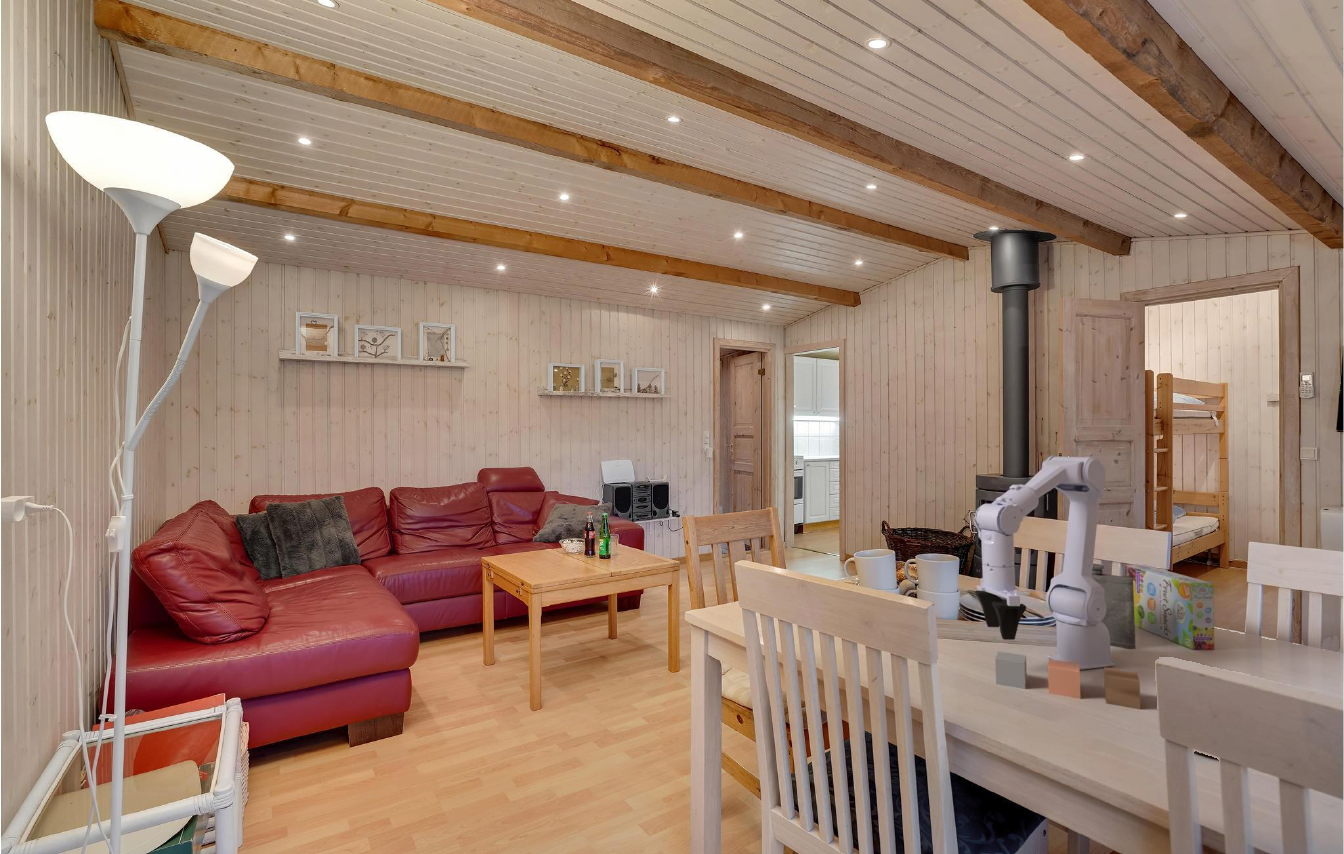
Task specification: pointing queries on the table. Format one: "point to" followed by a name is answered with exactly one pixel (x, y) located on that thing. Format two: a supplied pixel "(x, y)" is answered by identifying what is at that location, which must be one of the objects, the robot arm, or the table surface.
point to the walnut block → (1122, 688)
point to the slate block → (1011, 670)
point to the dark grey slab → (1117, 607)
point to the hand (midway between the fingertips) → (1000, 632)
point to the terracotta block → (1064, 678)
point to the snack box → (1173, 606)
